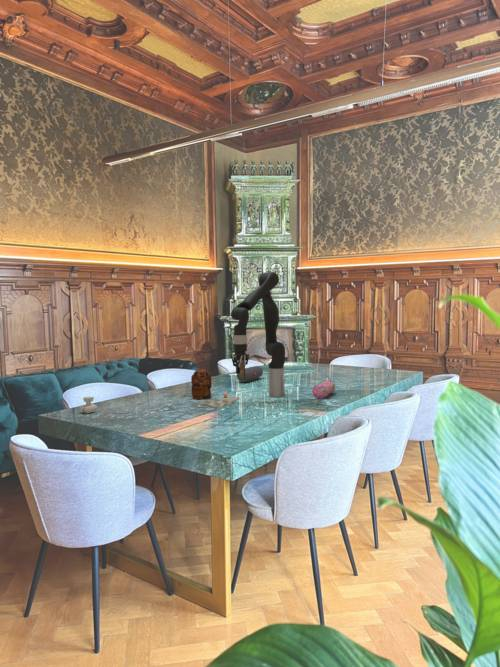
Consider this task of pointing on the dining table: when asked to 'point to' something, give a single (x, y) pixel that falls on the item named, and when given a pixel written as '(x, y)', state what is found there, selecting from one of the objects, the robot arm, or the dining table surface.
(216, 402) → the board
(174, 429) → the dining table surface
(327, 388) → the pencil case
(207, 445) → the dining table surface
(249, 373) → the bluetooth speaker
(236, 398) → the key plate
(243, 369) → the walnut pin
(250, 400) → the dining table surface
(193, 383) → the wooden figurine
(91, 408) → the stamp
